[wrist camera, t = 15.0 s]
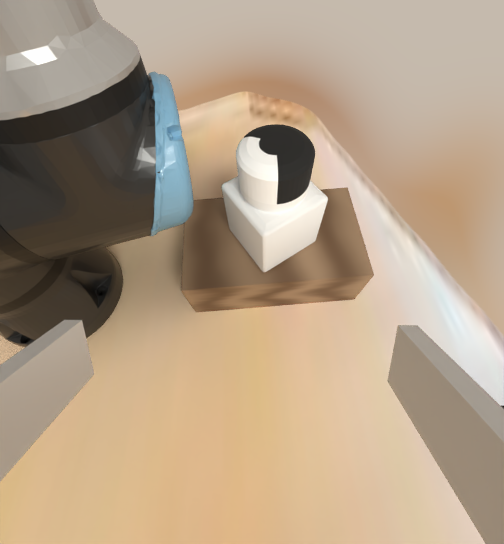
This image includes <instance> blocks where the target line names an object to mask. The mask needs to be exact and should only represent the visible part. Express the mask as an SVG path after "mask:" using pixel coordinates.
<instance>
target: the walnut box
mask: <svg viewBox="0 0 504 544" xmlns="http://www.w3.org/2000/svg"><path fill="white" fill-rule="evenodd" d="M321 191H322V192H323V193H324V194H325V195H326V196H327V197H328V201H327V205H326V208H325V211H324V214H323V218H322V221H321V224H320V228H319V231H318V234H317V238H316V241H315V242H313V243H312V244H310V245H309V246H307V247H305V248H304V249H302V250H301V251H299V252H297V253H296V254H294V255H293V256H291V257H289V258H288V259H286V260H285V261H283V262H281V263H280V264H278V265H277V266H275V267H273V268H272V269H270V270H268V271H267V272H263V271H262V270H261V269H260V268H259V266H258V265H257V264H256V263H255V261H254V260H253V259H252V257H251V256H250V255H249V254H248V252H247V251H246V250H245V248H244V247H243V246H242V245H241V243H240V242H239V241H238V239H237V238H236V237H235V236H234V234H233V233H232V232H231V230H230V229H229V224H228V219H227V214H226V208H225V203H224V198H216V199H204V200H193V203H194V206H193V212H192V214H191V216H190V217H189V218H188V220H187V221H186V222H184V241H183V262H182V283H181V291H182V293H183V294H184V296H185V297H186V298H187V300H188V301H189V303H190V304H191V306H192V307H193V309H194V310H195V311H196V312H206V311H218V310H230V309H242V308H254V307H266V306H279V305H291V304H303V303H315V302H327V301H339V300H352V299H355V298H356V296H357V295H358V294H359V293H360V291H361V290H362V289H363V288H364V287H365V285H366V284H367V283H368V282H369V280H370V279H371V278H372V277H373V275H374V274H373V270H372V267H371V264H370V260H369V257H368V254H367V250H366V247H365V244H364V241H363V237H362V234H361V231H360V227H359V224H358V221H357V218H356V214H355V211H354V208H353V204H352V201H351V198H350V194H349V191H348V188H336V189H324V190H321Z"/></svg>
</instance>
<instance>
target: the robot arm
mask: <svg viewBox="0 0 504 544" xmlns="http://www.w3.org/2000/svg"><path fill="white" fill-rule="evenodd" d="M181 134H182V131H181V126H180V122H179V114H178V109H177V105H176V101H175V96H174V92H173V89H172V85H171V83H170V80H169V78H168V77H167V76H165V75H162V74H157V73H156V72H151V73H149V75H147V74H146V71H145V68H144V65H143V62H142V59H141V56H140V53H139V50H138V48H137V46H136V44H135V43H134V42H133V41H132V40H130V39H129V38H128V37H126V36H125V35H124V34H122V33H121V32H120V31H118V30H117V29H116V28H114V27H113V26H111V25H110V24H109V23H107V22H106V21H104V20H103V18H102V17H101V15H100V14H99V12H98V10H97V8H96V6H95V3H94V1H93V0H0V335H1V336H3V337H4V338H5V339H6V340H8V341H10V342H12V343H14V344H16V345H19V346H22V347H25V348H24V349H22V350H21V351H20V352H18V353H17V354H15V355H14V356H12V357H11V358H10V359H8V360H7V361H5V362H4V363H3V364H1V365H0V481H1V480H2V479H3V478H4V477H5V476H6V474H7V473H8V472H9V471H10V470H11V469H12V468H13V466H14V465H15V464H16V463H17V462H18V461H19V460H20V458H21V457H22V456H23V455H24V454H25V453H26V452H27V450H28V449H29V448H30V447H31V446H32V445H33V443H34V442H35V441H36V440H37V439H38V438H39V437H40V435H41V434H42V433H43V432H44V431H45V430H46V429H47V427H48V426H49V425H50V424H51V423H52V422H53V421H54V419H55V418H56V417H57V416H58V415H59V414H60V413H61V411H62V410H63V409H64V408H65V407H66V406H67V405H68V403H69V402H70V401H71V400H72V399H73V398H74V397H75V395H76V394H77V393H78V392H79V391H80V390H81V389H82V387H83V386H84V385H85V384H86V383H87V382H88V381H89V379H90V378H91V377H92V376H93V375H94V370H93V366H92V361H91V357H90V353H89V348H88V344H87V340H86V338H87V337H89V336H90V335H91V334H93V333H94V332H95V331H96V330H97V329H99V328H100V327H101V326H102V325H103V324H104V323H105V321H106V320H107V319H108V318H109V316H110V315H111V314H112V312H113V310H114V309H115V307H116V305H117V303H118V301H119V298H120V295H121V291H122V282H123V279H122V272H121V268H120V266H119V264H118V262H117V260H116V259H115V258H114V256H113V255H112V254H111V253H110V252H109V251H108V250H107V249H106V248H105V247H107V246H110V245H114V244H118V243H122V242H126V241H130V240H134V239H137V238H141V237H145V236H149V235H150V236H153V235H156V234H157V232H159V231H162V230H165V229H169V228H172V227H175V226H178V225H181V224H183V223H184V222H186V221H187V220H188V218H189V217H190V216H191V214H192V212H193V206H194V203H193V193H192V185H191V178H190V172H189V166H188V161H187V155H186V150H185V145H184V141H183V138H182V135H181ZM388 383H389V384H390V386H391V388H392V389H393V391H394V393H395V394H396V396H397V398H398V399H399V401H400V403H401V404H402V406H403V408H404V409H405V411H406V413H407V414H408V416H409V418H410V419H411V421H412V423H413V424H414V426H415V427H416V429H417V431H418V432H419V434H420V436H421V437H422V439H423V441H424V442H425V444H426V446H427V447H428V449H429V451H430V452H431V454H432V456H433V457H434V459H435V461H436V462H437V464H438V466H439V467H440V469H441V471H442V472H443V474H444V475H445V477H446V479H447V480H448V482H449V484H450V485H451V487H452V489H453V490H454V492H455V494H456V495H457V497H458V499H459V500H460V502H461V504H462V505H463V507H464V509H465V510H466V512H467V514H468V515H469V517H470V519H471V520H472V522H473V523H474V525H475V527H476V528H477V530H478V532H479V533H480V535H481V537H482V538H483V540H484V542H485V543H486V544H504V406H500V405H499V404H498V403H497V402H496V401H495V400H494V399H493V398H492V397H491V396H490V395H489V394H488V393H487V392H486V391H485V390H484V389H483V388H481V387H480V386H479V385H478V384H477V383H476V382H475V381H474V380H473V379H472V378H471V377H470V376H469V375H468V374H467V373H466V372H465V371H464V370H463V369H462V368H461V367H460V366H459V365H458V364H457V363H456V362H455V361H454V360H452V359H451V358H450V357H449V356H448V355H447V354H446V353H445V352H444V351H443V350H442V349H441V348H440V347H439V346H438V345H437V344H436V343H435V342H434V341H433V340H432V339H431V338H430V337H429V336H428V335H427V334H426V333H425V332H424V331H422V330H421V329H420V328H419V327H418V326H409V325H398V328H397V333H396V339H395V344H394V349H393V355H392V360H391V366H390V371H389V376H388Z"/></svg>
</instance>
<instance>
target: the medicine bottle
mask: <svg viewBox="0 0 504 544" xmlns="http://www.w3.org/2000/svg"><path fill="white" fill-rule="evenodd" d="M314 158H315V149H314V146H313V144H312V142H311V141H310V139H309V138H308V137H307V136H306V135H305V134H304V133H303V132H301V131H299V130H298V129H296V128H293V127H290V126H286V125H266V126H262V127H259V128H256V129H254V130H252V131H251V132H249V133H248V134H247V135H246V136H245V137H244V138H243V139H242V140H241V141H240V143H239V144H238V147H237V150H236V160H237V169H238V176H237V177H235V178H233V179H232V180H230V181H228V182H226V183H224V184H222V193H223V198H224V203H225V208H226V214H227V219H228V224H229V229H230V230H231V232H232V233H233V234H234V236H235V237H236V238H237V239H238V241H239V242H240V243H241V245H242V246H243V247H244V248H245V250H246V251H247V252H248V254H249V255H250V256H251V257H252V259H253V260H254V261H255V263H256V264H257V265H258V266H259V268H260V269H261V270H262V271H263V272H267V271H268V270H270V269H272V268H273V267H275V266H277V265H278V264H280V263H281V262H283V261H285V260H286V259H288V258H289V257H291V256H293V255H294V254H296V253H297V252H299V251H301V250H302V249H304V248H305V247H307V246H309V245H310V244H312V243H313V242H315V241H316V238H317V234H318V231H319V228H320V224H321V221H322V218H323V214H324V211H325V208H326V205H327V201H328V197H327V196H326V195H325V194H324V193H323V192H322V191H321V190H320V189H319V188H318V187H316V186H315V185H314V184H313V183H312V182H311V181H310V178H311V173H312V168H313V163H314Z"/></svg>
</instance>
